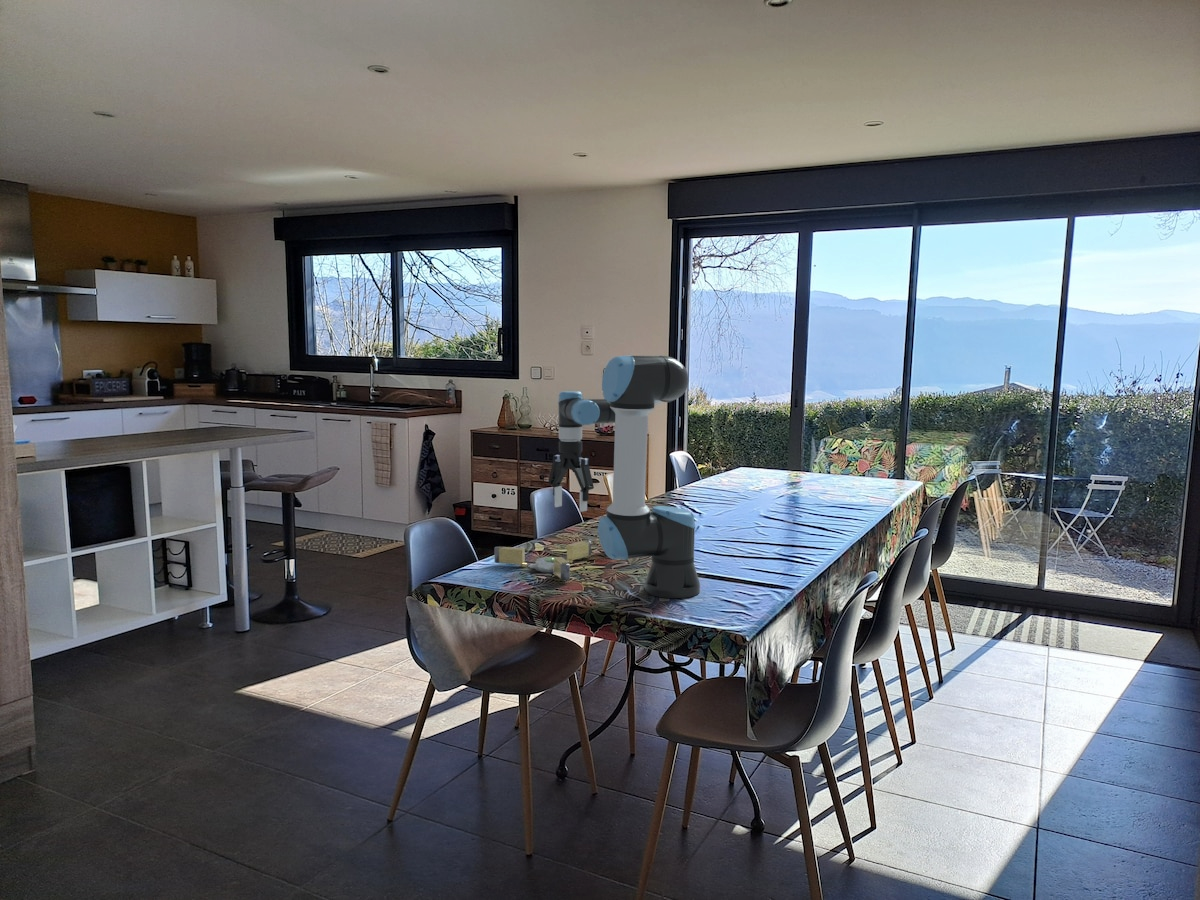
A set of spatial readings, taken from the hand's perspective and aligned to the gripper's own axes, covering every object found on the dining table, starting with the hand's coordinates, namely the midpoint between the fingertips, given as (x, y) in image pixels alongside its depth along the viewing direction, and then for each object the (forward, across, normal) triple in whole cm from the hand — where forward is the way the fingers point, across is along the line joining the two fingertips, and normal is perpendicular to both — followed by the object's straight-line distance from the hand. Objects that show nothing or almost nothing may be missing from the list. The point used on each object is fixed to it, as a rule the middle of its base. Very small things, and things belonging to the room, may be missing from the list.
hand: (570, 508), depth 255 cm
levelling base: (+16, -5, +14) cm, 22 cm away
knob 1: (+16, -16, +20) cm, 30 cm away
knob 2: (+16, -5, +1) cm, 16 cm away
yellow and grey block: (+16, +6, +20) cm, 26 cm away
